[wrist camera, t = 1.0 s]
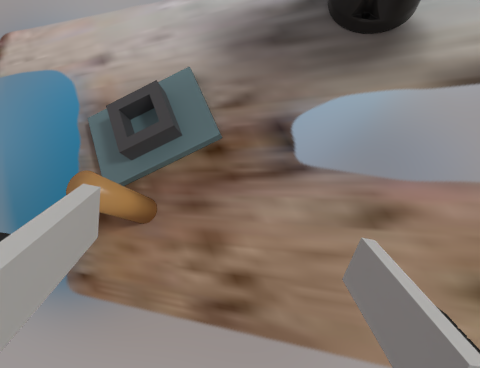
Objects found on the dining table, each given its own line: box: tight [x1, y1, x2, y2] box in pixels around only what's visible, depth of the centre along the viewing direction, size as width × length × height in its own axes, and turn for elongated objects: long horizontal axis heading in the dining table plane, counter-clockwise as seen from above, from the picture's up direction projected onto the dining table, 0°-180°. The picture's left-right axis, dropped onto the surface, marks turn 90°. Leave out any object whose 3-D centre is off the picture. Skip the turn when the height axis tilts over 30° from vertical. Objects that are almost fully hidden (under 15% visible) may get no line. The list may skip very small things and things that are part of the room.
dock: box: [88, 67, 222, 186], centre depth 47 cm, size 22×16×5 cm
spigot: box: [66, 171, 157, 224], centre depth 38 cm, size 4×4×14 cm
